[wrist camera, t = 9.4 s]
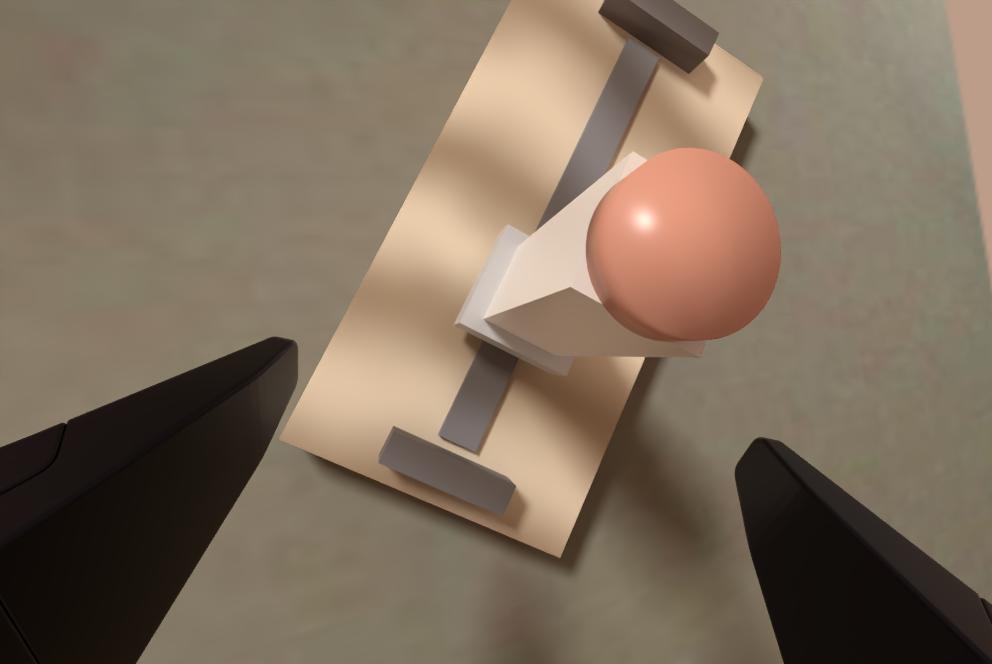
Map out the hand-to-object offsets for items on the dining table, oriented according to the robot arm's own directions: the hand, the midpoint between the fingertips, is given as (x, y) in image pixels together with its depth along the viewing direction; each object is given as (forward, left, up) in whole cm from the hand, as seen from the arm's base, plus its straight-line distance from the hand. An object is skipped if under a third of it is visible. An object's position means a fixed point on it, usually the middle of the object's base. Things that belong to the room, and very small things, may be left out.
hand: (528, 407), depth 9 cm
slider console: (+6, -5, -12) cm, 14 cm away
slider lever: (+3, -3, -9) cm, 10 cm away
